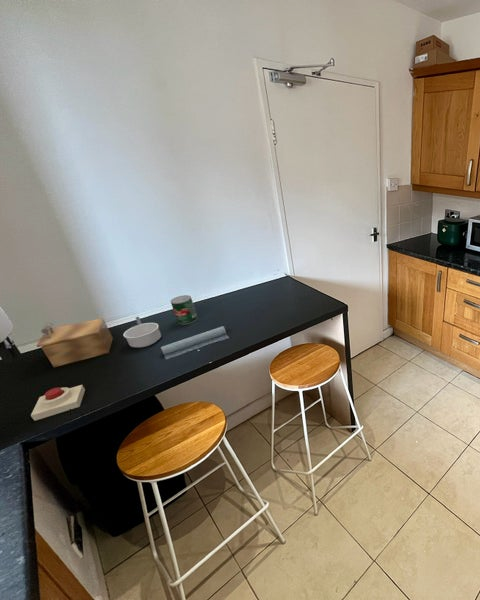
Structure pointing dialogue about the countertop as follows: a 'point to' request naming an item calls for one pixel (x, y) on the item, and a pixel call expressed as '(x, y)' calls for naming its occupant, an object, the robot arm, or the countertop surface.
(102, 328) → the box
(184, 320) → the canned tomato
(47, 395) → the button
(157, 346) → the countertop surface
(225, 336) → the aluminum foil
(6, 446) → the countertop surface
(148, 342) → the saucepan
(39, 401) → the switch block
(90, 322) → the lid
